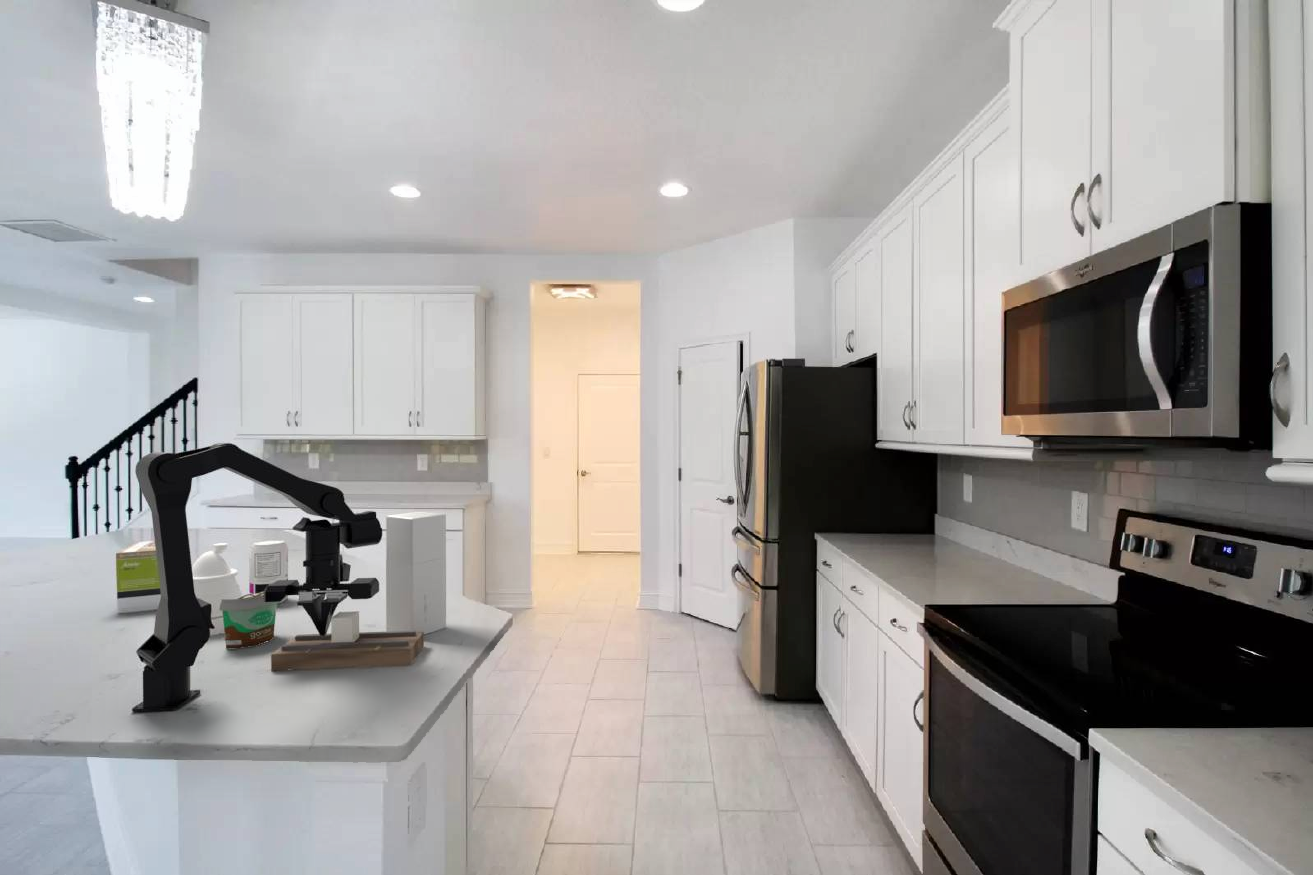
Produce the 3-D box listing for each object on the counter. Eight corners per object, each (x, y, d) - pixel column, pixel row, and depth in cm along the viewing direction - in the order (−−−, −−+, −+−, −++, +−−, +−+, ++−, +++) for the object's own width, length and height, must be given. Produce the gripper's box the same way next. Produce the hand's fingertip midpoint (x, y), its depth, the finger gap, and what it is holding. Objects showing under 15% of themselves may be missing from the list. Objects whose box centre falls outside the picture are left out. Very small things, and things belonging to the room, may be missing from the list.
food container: (246, 653, 122) (245, 601, 121) (219, 651, 123) (219, 600, 123) (294, 633, 134) (294, 586, 134) (270, 631, 135) (269, 584, 135)
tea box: (136, 598, 161) (136, 540, 160) (184, 594, 165) (184, 538, 165) (115, 614, 147) (115, 551, 147) (168, 609, 151) (168, 548, 151)
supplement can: (241, 605, 155) (241, 544, 154) (270, 596, 163) (270, 538, 162) (267, 608, 152) (266, 546, 152) (295, 599, 160) (295, 540, 160)
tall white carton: (412, 639, 130) (412, 518, 130) (385, 632, 135) (385, 515, 134) (446, 627, 138) (446, 513, 137) (420, 621, 142) (419, 511, 142)
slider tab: (351, 644, 117) (351, 617, 117) (331, 645, 117) (331, 618, 117) (359, 637, 121) (359, 611, 121) (339, 637, 121) (339, 612, 121)
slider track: (410, 665, 116) (410, 644, 116) (271, 671, 113) (271, 650, 113) (423, 646, 126) (423, 627, 126) (295, 651, 123) (295, 632, 123)
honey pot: (234, 615, 146) (233, 538, 146) (254, 626, 138) (253, 544, 138) (165, 628, 136) (165, 546, 136) (183, 641, 128) (182, 553, 128)
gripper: (387, 543, 128) (387, 620, 128) (289, 545, 125) (289, 623, 125) (369, 554, 117) (370, 638, 117) (261, 556, 114) (262, 642, 114)
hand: (323, 634), depth 119 cm, fingers closed
